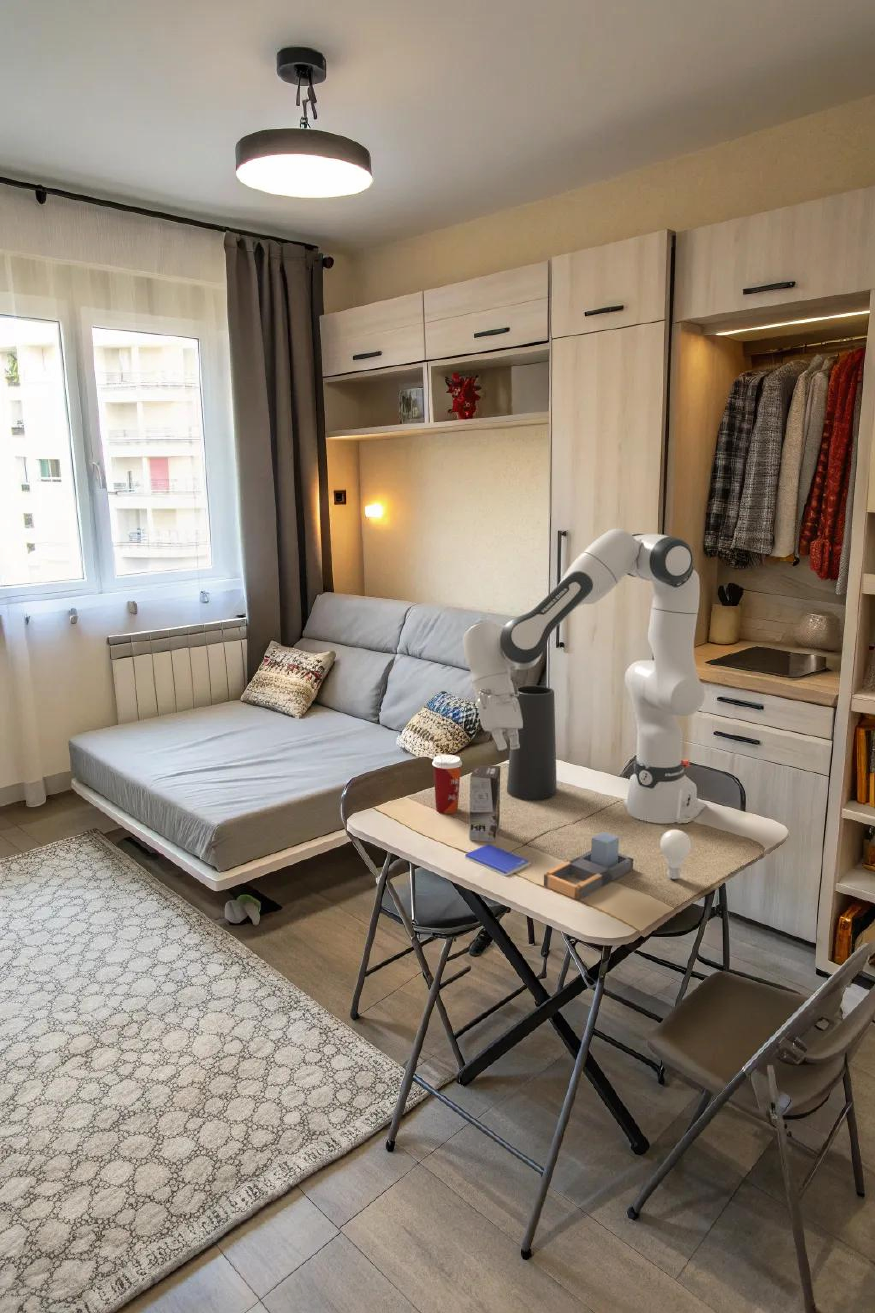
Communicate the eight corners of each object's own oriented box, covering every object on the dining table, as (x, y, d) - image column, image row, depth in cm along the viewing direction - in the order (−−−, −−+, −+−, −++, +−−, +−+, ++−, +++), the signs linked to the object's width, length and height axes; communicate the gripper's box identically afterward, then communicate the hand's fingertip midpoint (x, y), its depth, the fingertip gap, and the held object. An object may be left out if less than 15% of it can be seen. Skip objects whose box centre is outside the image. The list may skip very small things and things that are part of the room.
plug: (602, 863, 186) (603, 831, 185) (617, 869, 184) (618, 837, 182) (590, 869, 183) (591, 837, 182) (605, 875, 180) (607, 843, 179)
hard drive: (530, 860, 185) (489, 843, 194) (506, 871, 180) (465, 853, 189) (530, 866, 186) (489, 849, 194) (506, 878, 180) (465, 860, 189)
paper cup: (459, 816, 212) (460, 764, 209) (429, 814, 213) (429, 762, 210) (463, 805, 220) (463, 754, 217) (434, 803, 221) (434, 753, 218)
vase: (564, 798, 225) (568, 694, 219) (517, 803, 221) (519, 697, 215) (545, 781, 237) (548, 682, 231) (500, 785, 234) (501, 685, 228)
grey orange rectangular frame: (598, 856, 190) (599, 845, 189) (632, 869, 183) (633, 857, 183) (543, 885, 176) (544, 873, 175) (578, 900, 170) (578, 887, 169)
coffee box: (495, 843, 197) (496, 778, 193) (468, 840, 198) (469, 776, 195) (500, 827, 205) (501, 765, 202) (474, 825, 207) (475, 763, 203)
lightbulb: (693, 878, 179) (697, 830, 177) (680, 888, 175) (683, 839, 172) (666, 869, 183) (669, 822, 181) (652, 879, 179) (655, 831, 177)
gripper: (491, 684, 180) (508, 746, 178) (519, 689, 199) (534, 745, 196) (465, 692, 182) (481, 754, 180) (495, 696, 201) (510, 752, 198)
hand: (509, 749), depth 188 cm, fingers open, 8 cm apart
